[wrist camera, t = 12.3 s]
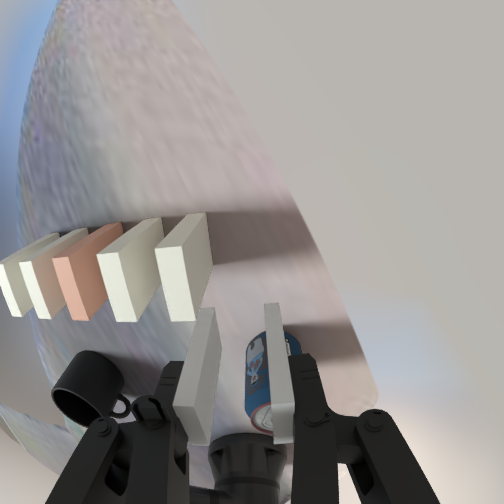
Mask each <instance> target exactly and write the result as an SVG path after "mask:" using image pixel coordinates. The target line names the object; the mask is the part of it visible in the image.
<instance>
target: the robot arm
mask: <svg viewBox="0 0 504 504" xmlns="http://www.w3.org/2000/svg"><path fill="white" fill-rule="evenodd" d="M264 312H265V326H266V339H267V353H268V367H269V381H270V395H271V409H272V424H273V437H269V436H265V435H259V434H234V435H228V436H224V437H221V438H218V439H216V440H215V441H213V442H212V443H211V444H210V437H211V429H212V421H213V412H214V405H215V397H216V389H217V381H218V374H219V366H220V359H221V351H222V346H221V340H220V335H219V330H218V324H217V319H216V313H215V307H212V308H200V311H199V314H198V317H197V321H196V324H195V327H194V331H193V334H192V337H191V341H190V344H189V348H188V351H187V355H186V358H185V361H170V362H169V363H168V364H167V365H166V366H165V367H164V368H163V371H162V374H161V378H160V380H159V383H158V385H157V388H156V391H155V394H154V396H153V395H146V396H142V397H139V398H137V399H136V400H135V401H134V402H133V403H132V404H131V406H130V410H131V412H132V413H133V415H134V417H135V418H136V420H137V421H133V422H127V423H119V424H118V423H117V422H116V421H115V419H113V418H111V417H105V416H104V417H100V418H97V419H96V420H94V421H93V422H92V423H91V424H90V426H89V427H88V429H87V431H86V432H85V434H84V436H83V437H82V439H81V441H80V442H79V444H78V446H77V447H76V449H75V451H74V452H73V454H72V456H71V458H70V459H69V461H68V463H67V465H66V466H65V468H64V470H63V472H62V473H61V475H60V477H59V479H58V481H57V482H56V484H55V486H54V488H53V490H52V492H51V493H50V495H49V497H48V499H47V501H46V503H45V504H281V497H280V479H281V476H282V473H283V470H284V467H285V463H286V460H287V452H286V447H285V445H284V443H293V442H294V460H293V477H292V492H291V504H339V486H338V464H337V463H342V464H346V465H347V468H348V470H349V473H350V475H351V478H352V480H353V483H354V485H355V488H356V491H357V493H358V496H359V498H360V501H361V504H440V503H439V500H438V498H437V497H436V495H435V493H434V491H433V489H432V487H431V485H430V484H429V482H428V480H427V478H426V476H425V474H424V473H423V471H422V469H421V467H420V466H419V464H418V462H417V460H416V458H415V457H414V455H413V453H412V451H411V450H410V448H409V446H408V444H407V443H406V441H405V439H404V438H403V436H402V434H401V433H400V431H399V429H398V427H397V425H396V424H395V422H394V420H393V419H392V417H391V416H390V415H389V414H388V413H387V412H385V411H383V410H379V409H371V410H367V411H365V412H363V413H362V414H361V415H360V416H359V417H353V416H343V415H339V414H337V413H335V412H333V411H332V410H331V409H330V408H329V407H328V405H327V402H326V398H325V394H324V390H323V387H322V383H321V379H320V375H319V372H318V368H317V364H316V361H315V359H314V358H313V357H312V356H311V355H310V354H309V353H307V354H298V355H289V356H287V350H286V344H285V337H284V331H283V325H282V319H281V313H280V307H279V303H270V304H264ZM188 440H189V442H190V444H191V445H201V446H209V445H210V446H209V451H208V460H209V463H210V467H211V470H212V473H213V477H214V480H215V487H214V490H212V489H207V488H202V487H196V486H191V485H189V453H188V450H187V448H186V447H187V441H188Z"/></svg>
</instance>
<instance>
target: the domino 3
mask: <svg viewBox="0 0 504 504" xmlns="http://www.w3.org/2000/svg"><path fill="white" fill-rule="evenodd" d="M123 234H124V233H123V228H122V223H121V222H117V223H111V224H106V225H104V226H103V227H101V228H99V229H98V230H96V231H94V232H93V233H91V234H89V235H88V236H86V237H84V238H83V239H81V240H80V241H78V242H76V243H75V244H73V245H72V246H70V247H68V248H67V249H65V250H64V251H62V252H61V253H59V254H58V255H56V256H55V257H53V258H52V261H53V264H54V268H55V271H56V274H57V277H58V280H59V283H60V286H61V289H62V292H63V295H64V298H65V301H66V303H67V306H68V309H69V311H70V314H71V317H72V319H73V320H88V321H89V320H90V319H91V318H92V316H93V315H94V314H95V313H96V312H97V310H98V309H99V308H100V307H101V306H102V304H103V303H104V302H105V301H106V300H107V299H108V294H107V290H106V287H105V284H104V280H103V277H102V273H101V270H100V266H99V262H98V259H97V255H96V254H98V253H99V252H100V251H102V250H103V249H104V248H106V247H107V246H108V245H110V244H111V243H112V242H114V241H115V240H116V239H118V238H119V237H120V236H122V235H123Z"/></svg>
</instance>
